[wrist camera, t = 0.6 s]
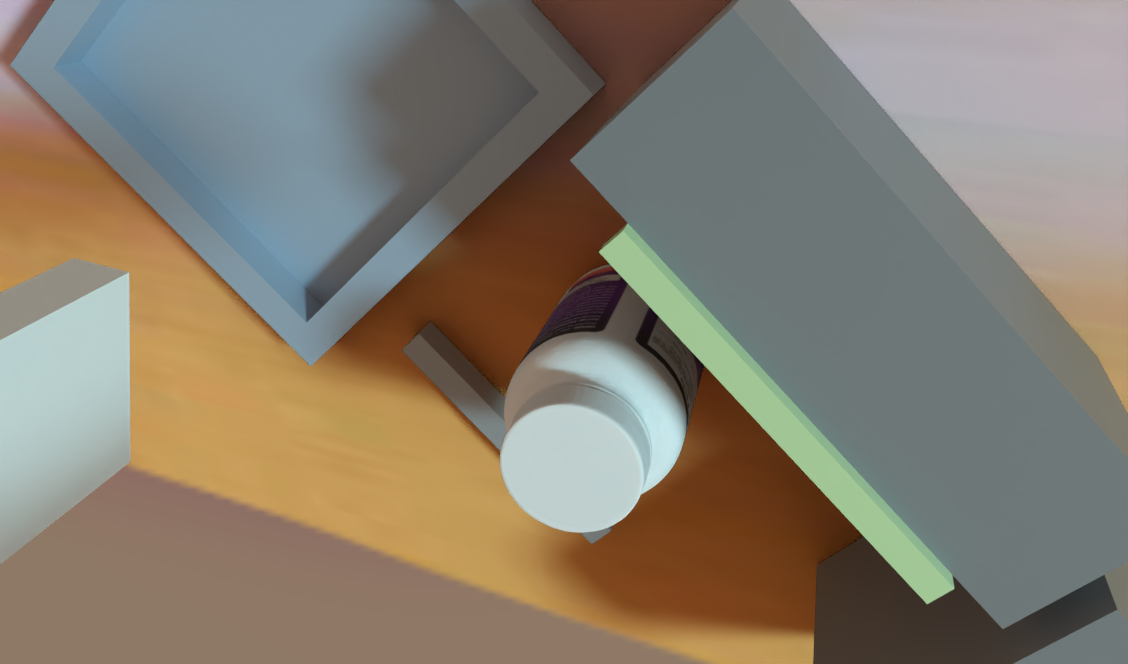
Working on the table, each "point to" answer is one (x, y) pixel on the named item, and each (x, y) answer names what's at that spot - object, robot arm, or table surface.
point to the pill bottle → (596, 407)
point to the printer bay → (865, 352)
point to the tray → (309, 130)
